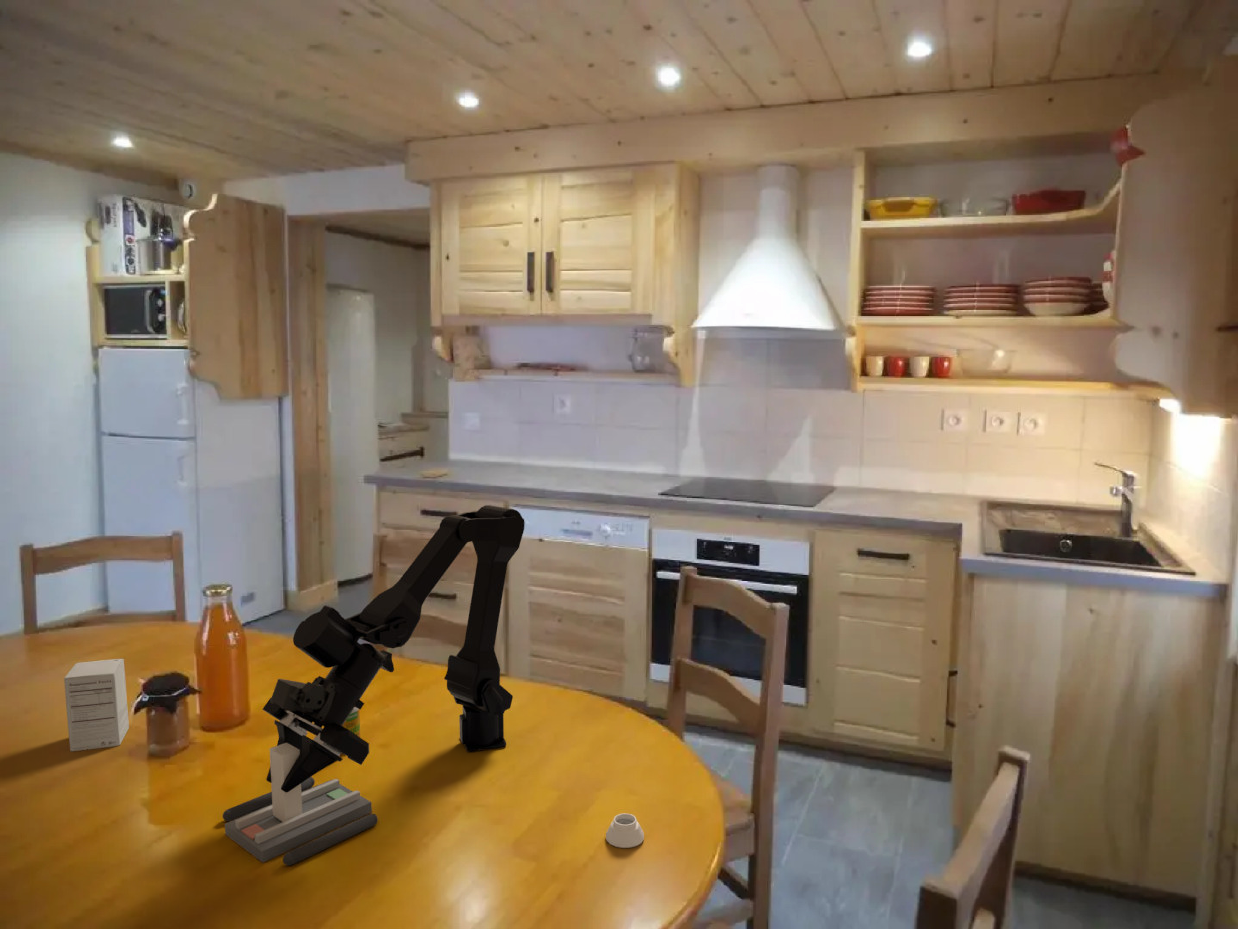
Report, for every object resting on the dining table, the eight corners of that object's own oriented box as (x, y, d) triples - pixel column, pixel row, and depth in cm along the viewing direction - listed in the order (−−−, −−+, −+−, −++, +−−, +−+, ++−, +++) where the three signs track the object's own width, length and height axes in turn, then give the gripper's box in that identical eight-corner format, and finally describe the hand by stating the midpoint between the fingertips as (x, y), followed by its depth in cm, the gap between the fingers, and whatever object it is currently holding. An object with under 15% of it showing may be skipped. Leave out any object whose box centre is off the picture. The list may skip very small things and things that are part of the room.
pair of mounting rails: (311, 784, 129) (310, 773, 129) (380, 825, 118) (380, 814, 118) (220, 821, 119) (220, 810, 118) (287, 870, 107) (286, 858, 107)
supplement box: (81, 733, 146) (75, 662, 144) (130, 728, 148) (125, 657, 146) (68, 752, 139) (62, 677, 137) (120, 746, 141) (114, 672, 139)
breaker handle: (289, 808, 119) (286, 742, 117) (302, 816, 116) (299, 749, 115) (272, 815, 117) (269, 748, 116) (285, 824, 115) (282, 756, 113)
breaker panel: (332, 789, 127) (331, 773, 127) (371, 812, 121) (371, 795, 121) (225, 834, 115) (224, 816, 115) (262, 862, 109) (261, 844, 109)
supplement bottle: (350, 755, 138) (348, 697, 137) (319, 752, 139) (317, 694, 138) (366, 741, 143) (364, 685, 142) (337, 738, 145) (334, 682, 143)
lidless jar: (651, 838, 115) (622, 826, 118) (651, 818, 115) (622, 805, 118) (627, 855, 111) (598, 841, 114) (627, 833, 111) (598, 820, 114)
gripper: (272, 640, 123) (198, 740, 116) (346, 671, 111) (268, 784, 104) (324, 677, 130) (258, 774, 123) (399, 710, 118) (330, 819, 111)
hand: (276, 786), depth 115 cm, fingers closed on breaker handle, 3 cm apart
